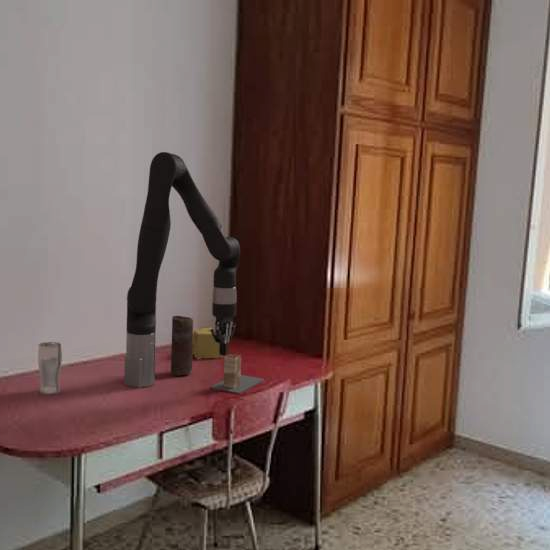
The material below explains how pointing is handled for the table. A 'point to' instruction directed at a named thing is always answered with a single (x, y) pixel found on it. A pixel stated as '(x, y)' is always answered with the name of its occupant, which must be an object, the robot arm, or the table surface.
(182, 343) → the brown rough cylinder
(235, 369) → the block
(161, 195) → the robot arm
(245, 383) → the mat
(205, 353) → the cheese
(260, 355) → the table surface
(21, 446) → the table surface
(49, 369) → the beer glass
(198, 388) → the table surface
